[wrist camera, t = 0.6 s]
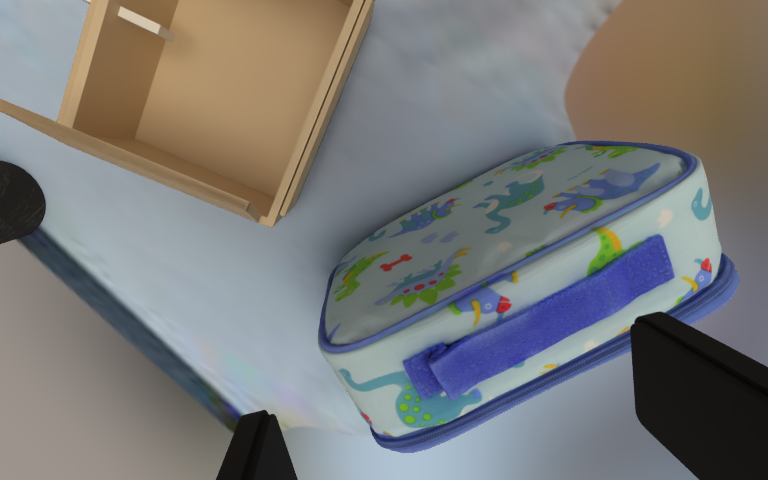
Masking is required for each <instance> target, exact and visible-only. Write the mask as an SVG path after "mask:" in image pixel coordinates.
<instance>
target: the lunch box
mask: <svg viewBox="0 0 768 480" xmlns="http://www.w3.org/2000/svg"><path fill="white" fill-rule="evenodd" d="M739 281H740V280H739V275H738V273H737V271H736V270H735V266H734V263H733V262H732V261H731V260H730V259H729V258H728V257H727V256H726V255H724V254H723V253H721V244H720V241H719V238H718V234H717V230H716V224H715V218H714V212H713V206H712V202H711V198H710V193H709V188H708V182H707V178H706V175H705V171H704V168H703V165H702V162H701V160H700V158H699V157H697V156H695V155H693V154H691V153H689V152H686V151H682V150H678V149H675V148H671V147H667V146H661V145H654V144H647V143H632V142H614V141H576V142H568V143H564V144H559V145H556V146H553V147H545V148H541V149H538V150H535V151H532V152H529V153H527V154H524V155H522V156H519V157H517V158H514V159H512V160H510V161H508V162H506V163H504V164H502V165H500V166H498V167H496V168H494V169H492V170H490V171H488V172H486V173H484V174H482V175H480V176H478V177H476V178H474V179H472V180H471V181H469V182H467V183H465V184H463V185H461V186H459V187H457V188H455V189H454V190H452V191H450V192H448V193H446V194H443V195H441V196H439V197H437V198H435V199H433V200H431V201H429V202H427V203H425V204H423V205H422V206H420V207H418V208H416V209H414V210H413V211H411V212H409V213H407V214H405V215H403V216H401V217H399V218H398V219H396V220H394V221H392V222H390V223H389V224H387V225H385V226H383V227H382V228H380V229H379V230H377V231H376V232H374V233H373V234H371V235H370V236H369V237H367V238H366V239H365V240H363V241H362V242H361V243H359V244H358V245H357V246H356V247H355V248H353V249H352V250H351V251H350V252H348V253H347V254H346V255H345V256H344V257H343V258H342V259H341V261H340V263H339V264H338V265H337V266H336V267H335V269H334V270H333V271H332V273H331V275H330V277H329V281H328V286H327V291H326V297H325V300H324V304H323V308H322V313H321V318H320V325H319V331H318V345H319V349H320V351H321V353H322V354H323V356H324V357H325V359H326V360H327V362H328V363H329V364H330V365H331V366H332V368H333V370H334V372H335V374H336V375H337V377H338V379H339V380H340V382H341V383H342V384H343V386H344V387H345V389H346V391H347V392H348V394H349V395H350V397H351V399H352V400H353V402H354V403H355V405H356V407H357V409H358V411H359V412H360V414H361V416H362V417H363V418H364V419H365V421H366V422H367V423H368V424H369V425H370V430H371V432H372V435H373V437H374V439H375V440H376V442H377V443H378V444H379V445H380V446H381V447H383V448H387V449H390V450H392V451H397V452H401V453H414V452H417V451H422V450H426V449H429V448H431V447H434V446H436V445H439V444H441V443H443V442H446V441H448V440H450V439H452V438H454V437H456V436H458V435H461V434H462V433H465V432H467V431H469V430H470V429H473V428H475V427H476V426H478V425H480V424H482V423H484V422H486V421H488V420H490V419H491V418H493V417H495V416H497V415H499V414H501V413H503V412H505V411H507V410H509V409H511V408H513V407H514V406H516V405H518V404H520V403H522V402H524V401H526V400H528V399H530V398H532V397H534V396H536V395H538V394H540V393H542V392H544V391H546V390H548V389H550V388H552V387H554V386H556V385H558V384H560V383H562V382H564V381H566V380H568V379H570V378H573V377H575V376H577V375H579V374H581V373H583V372H586V371H588V370H590V369H593V368H595V367H597V366H599V365H601V364H603V363H606V362H608V361H610V360H612V359H614V358H616V357H619V356H621V355H623V354H626V353H628V352H630V351H631V336H630V327H631V325H632V324H634V321H635V319H636V318H637V317H638V316H642V315H646V314H650V313H654V312H660V311H661V312H664V313H666V314H668V315H670V316H672V317H674V318H676V319H678V320H679V321H681V322H683V323H685V324H687V325H690V324H693V323H695V322H697V321H699V320H701V319H703V318H705V317H707V316H708V315H710V314H711V313H713V312H715V311H716V310H718V309H720V308H721V307H722V306H724V305H725V304H726V303H727V302H728V301H729V300H730V299H731V298H732V297H733V295H734V294H735V292H736V290H737V287H738V284H739Z"/></svg>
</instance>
